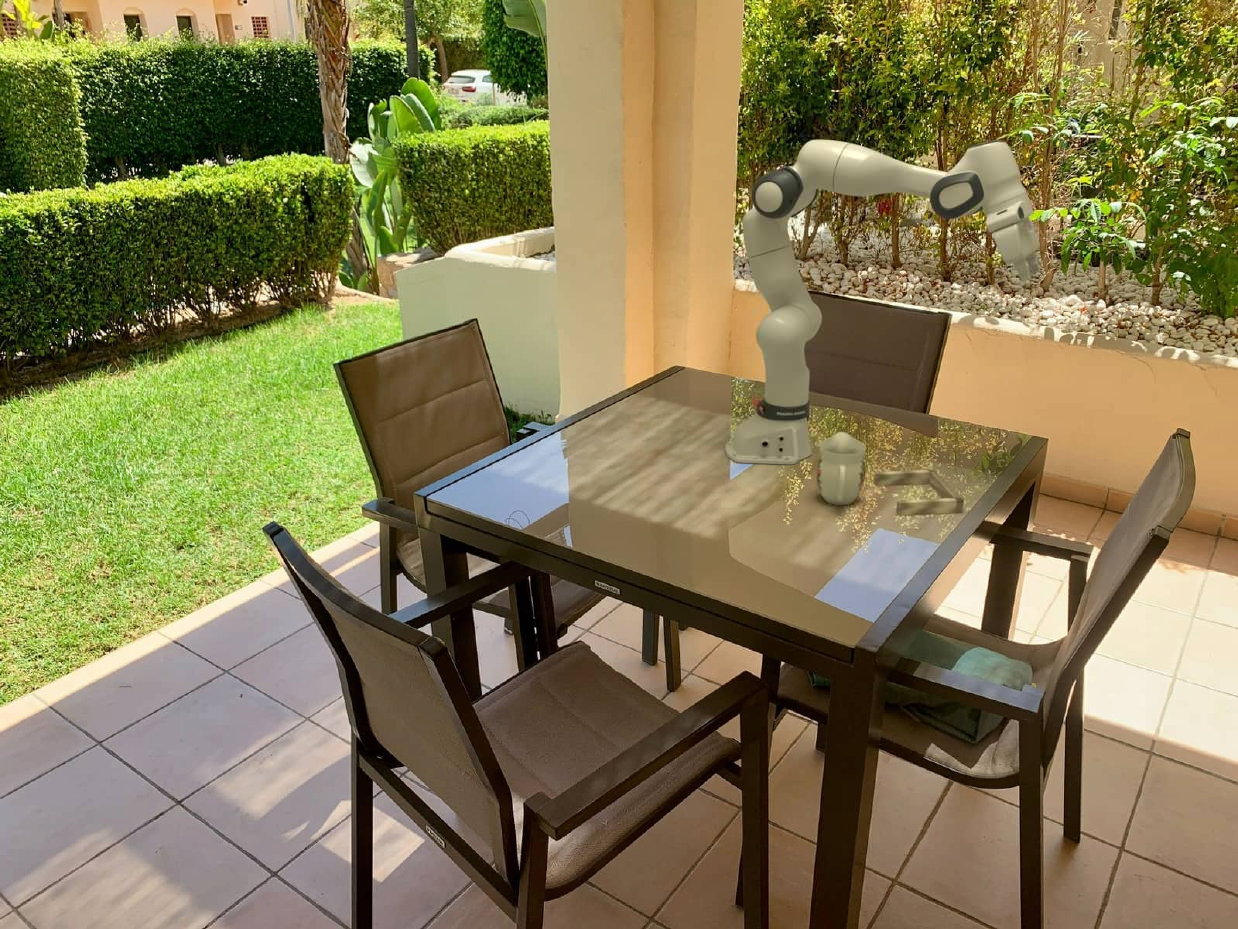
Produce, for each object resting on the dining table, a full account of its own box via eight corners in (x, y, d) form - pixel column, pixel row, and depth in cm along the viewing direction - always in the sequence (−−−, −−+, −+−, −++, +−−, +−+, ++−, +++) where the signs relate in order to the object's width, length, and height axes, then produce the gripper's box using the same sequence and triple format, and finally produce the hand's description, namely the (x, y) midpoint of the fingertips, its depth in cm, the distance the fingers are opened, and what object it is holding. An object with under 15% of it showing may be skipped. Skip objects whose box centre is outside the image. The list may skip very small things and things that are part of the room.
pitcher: (814, 515, 208) (818, 459, 203) (814, 484, 224) (818, 430, 219) (864, 518, 206) (869, 461, 201) (861, 486, 222) (865, 432, 217)
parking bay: (898, 515, 207) (899, 503, 206) (873, 483, 224) (874, 472, 223) (962, 512, 208) (963, 500, 206) (933, 481, 224) (934, 469, 223)
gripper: (1005, 215, 205) (1025, 274, 207) (983, 225, 189) (1006, 289, 191) (1034, 203, 201) (1055, 263, 203) (1015, 213, 185) (1037, 278, 187)
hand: (1031, 276), depth 197 cm, fingers open, 8 cm apart
